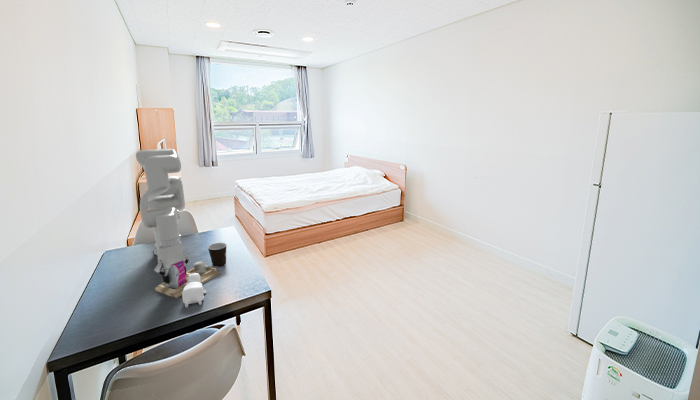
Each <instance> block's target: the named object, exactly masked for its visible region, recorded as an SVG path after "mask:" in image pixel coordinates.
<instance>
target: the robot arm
mask: <svg viewBox="0 0 700 400" xmlns="http://www.w3.org/2000/svg"><path fill="white" fill-rule="evenodd" d="M135 158H136V161H137V163H138V164H139V165H140V166H141V168H142V169H143V171H144V173H145V180H146V186H147V190H146V191H144V193H143V195H142V196H141V199H140V201H139V212H140V220H141V222H142V225H143V226H144V227H145V228H148V229H153V233H154V238H155V243H154V244H153V245H154V247H155V248H156V249H154V251H153V254H154V255H155V256H157V265H156V266H155V268H154V269H153V271H154V272H155V273H156V274H159V275H161V276H162V281H163V283H167V284H170V279H169V275H167V274H168V271H169V269H170V268H172V265H174V264H176V263H178V262H181V261H183V260H184V267H185V276H186V275H187V274H186V271H187V266H188V263H189V260H190V258H191V254H188V253H186V252H185V248H184V246H183V242H182V241H181V238H182V235H181V234H180V233H179V232H180V231H179V226H178V222H179V220H180V219H181V213H180V212H181V211H184V210H185V207H186V201H185V194H184V185H183V181H182V179H181V178H180V177H179V176H177V175H176V176H175V175H171V176H169V174H175V173H179V172H181V169H182V162H181V159H180V156H179V154H178V152H177V150H175V149H174V148H159V149H158V148H157V149H153V148H152V149H142V150H138V151H136V153H135Z"/></svg>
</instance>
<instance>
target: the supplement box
mask: <svg viewBox="0 0 700 400" xmlns="http://www.w3.org/2000/svg"><path fill="white" fill-rule="evenodd" d="M167 275H169V279H170V284H167V283H166V287H169V288H172V289H175V288H177V287H179V286H181V285H183V284H185V283H186V276H185V267H184V260H183V261H181V262H178V263H176V264H174V265H172V268H170V269H169V271H168V274H167Z"/></svg>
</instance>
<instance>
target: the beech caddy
mask: <svg viewBox="0 0 700 400" xmlns="http://www.w3.org/2000/svg"><path fill="white" fill-rule="evenodd" d="M192 273H199V275H200V278H201V280H200V281H201V283H202V285H203V284H204V283H207V282H208V281H210V280H212V279H214V278H216V277H218V276H219V275H221V274H220V273H221V272H220V271H217V267H214V266H213V267H212V266H210V265H207V264H206V262H205V261H204V260H203V261H197V262H194V263H193V268H191V269H189V270H186V274H187V275H186V283H185V284H183V285H181V286H179V287H177V288H175V289H172V288H169V287H166V283H164V282H162V283H159V284H158V285H157V286H155V287H154V291H155V292H158V293H161V294H164V295H165V296H168V297H171V298H175V299H179V298H180V297H182V292H183V289H184V287H185V286H186V285H187V284H188V282H187V281H188V276H189V275H190V274H192Z"/></svg>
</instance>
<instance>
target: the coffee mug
mask: <svg viewBox="0 0 700 400" xmlns="http://www.w3.org/2000/svg"><path fill="white" fill-rule="evenodd" d="M207 250H208V252H209V257H210V260H211V264H212V266H213V267H214V268H220V267H224V266H225V265H226V264H227V244H226V243H225V242H214V243H212V244H210V245H209V246H207Z"/></svg>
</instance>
